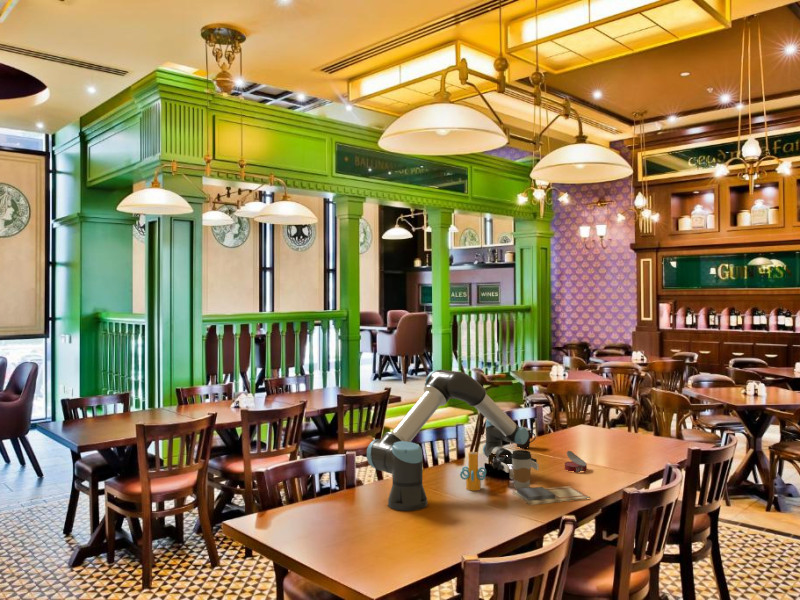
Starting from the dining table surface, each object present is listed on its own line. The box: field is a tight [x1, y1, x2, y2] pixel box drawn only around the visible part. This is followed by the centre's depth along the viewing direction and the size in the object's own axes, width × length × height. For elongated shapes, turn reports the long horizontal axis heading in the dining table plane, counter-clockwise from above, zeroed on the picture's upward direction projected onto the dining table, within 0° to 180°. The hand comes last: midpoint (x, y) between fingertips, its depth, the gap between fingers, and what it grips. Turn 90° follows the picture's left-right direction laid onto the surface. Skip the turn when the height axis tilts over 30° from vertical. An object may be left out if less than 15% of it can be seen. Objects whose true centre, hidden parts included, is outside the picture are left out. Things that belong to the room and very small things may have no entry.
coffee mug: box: [516, 427, 537, 448], centre depth 341 cm, size 12×9×10 cm
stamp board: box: [511, 485, 591, 506], centre depth 257 cm, size 26×16×2 cm, turn 104°
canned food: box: [564, 450, 588, 472], centre depth 296 cm, size 11×10×10 cm
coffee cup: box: [511, 449, 532, 490], centre depth 269 cm, size 8×8×15 cm
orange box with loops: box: [459, 451, 487, 492], centre depth 268 cm, size 12×10×15 cm
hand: (523, 468), depth 268 cm, fingers open, 13 cm apart
